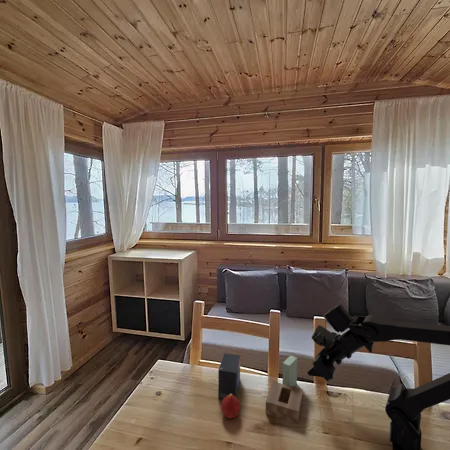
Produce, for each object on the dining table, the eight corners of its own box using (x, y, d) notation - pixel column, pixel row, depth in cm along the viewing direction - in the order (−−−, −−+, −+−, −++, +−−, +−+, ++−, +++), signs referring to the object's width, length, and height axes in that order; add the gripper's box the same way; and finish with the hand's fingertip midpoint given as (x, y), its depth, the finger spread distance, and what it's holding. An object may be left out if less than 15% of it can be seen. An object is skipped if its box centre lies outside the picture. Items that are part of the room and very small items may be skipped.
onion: (217, 417, 84) (217, 393, 83) (231, 407, 88) (230, 384, 87) (230, 428, 80) (230, 403, 79) (243, 418, 83) (243, 394, 83)
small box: (236, 401, 90) (236, 372, 89) (217, 398, 92) (217, 370, 91) (240, 380, 101) (240, 354, 100) (224, 378, 102) (223, 352, 101)
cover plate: (296, 386, 97) (297, 357, 96) (288, 395, 93) (289, 365, 92) (290, 383, 99) (290, 355, 98) (282, 392, 94) (282, 362, 93)
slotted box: (302, 403, 89) (302, 389, 89) (298, 426, 80) (298, 411, 80) (272, 394, 93) (273, 381, 93) (265, 416, 84) (265, 401, 84)
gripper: (334, 309, 91) (304, 332, 99) (318, 336, 76) (284, 360, 84) (360, 337, 88) (327, 358, 96) (349, 370, 73) (310, 392, 81)
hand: (312, 365), depth 89 cm, fingers open, 9 cm apart
